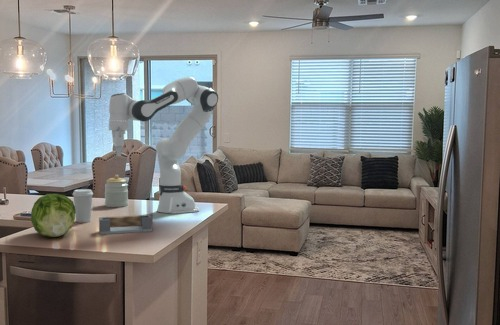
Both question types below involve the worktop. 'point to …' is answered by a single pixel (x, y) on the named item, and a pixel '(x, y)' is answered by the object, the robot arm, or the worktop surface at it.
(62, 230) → the lettuce
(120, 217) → the slat
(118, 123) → the robot arm
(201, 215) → the worktop surface
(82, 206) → the coffee cup
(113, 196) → the jar
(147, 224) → the grey cradle
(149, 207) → the worktop surface
